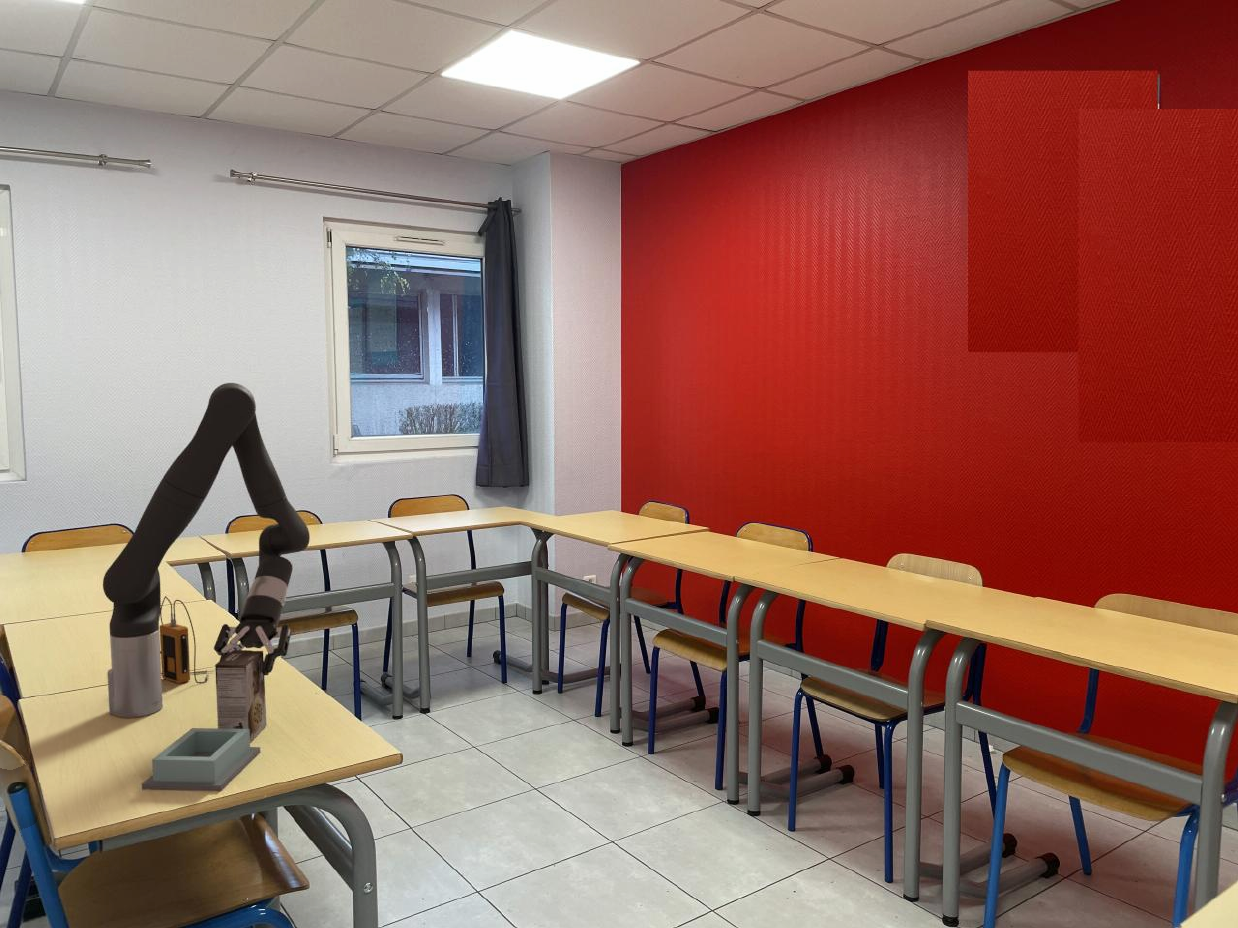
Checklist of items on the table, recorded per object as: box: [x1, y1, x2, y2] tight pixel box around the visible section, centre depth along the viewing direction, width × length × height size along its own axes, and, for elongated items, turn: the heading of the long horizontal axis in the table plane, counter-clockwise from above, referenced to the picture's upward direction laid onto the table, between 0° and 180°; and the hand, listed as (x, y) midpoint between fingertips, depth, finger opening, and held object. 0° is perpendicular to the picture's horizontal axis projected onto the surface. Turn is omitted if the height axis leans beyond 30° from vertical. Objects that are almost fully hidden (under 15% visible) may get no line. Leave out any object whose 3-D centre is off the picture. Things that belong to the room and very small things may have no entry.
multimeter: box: [159, 596, 213, 685], centre depth 214 cm, size 15×10×20 cm
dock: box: [141, 727, 261, 792], centre depth 165 cm, size 14×16×5 cm
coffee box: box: [214, 649, 267, 744], centre depth 180 cm, size 9×6×16 cm
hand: (243, 673), depth 181 cm, fingers open, 8 cm apart
